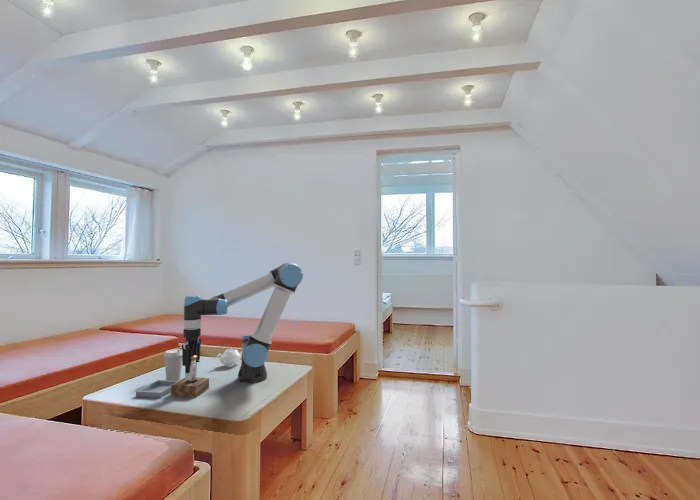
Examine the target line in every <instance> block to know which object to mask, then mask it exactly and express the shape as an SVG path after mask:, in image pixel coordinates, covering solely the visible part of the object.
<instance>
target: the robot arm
mask: <svg viewBox="0 0 700 500" xmlns="http://www.w3.org/2000/svg"><path fill="white" fill-rule="evenodd" d="M303 277H304V273H303V270H302V268H301V267H300V266H299V265H297V264H296V263H294V262H293V263H292V262H286V263H282V264H281V265H280V266H277V267H276V268H274V269H272V270H269V271H268V273H267V274H264V275H263V276H260V277H258V278H255V279H253V280H251V281H248V282H246V283H244V284H242V285H239V286H237V287H235V288H232V289H230V290H228V291H225V292H223V293H220V294H217V295H214V296H212V297H210V299H204V298H202V295H199V294H198V295H197V294H191V295H186V296H185V297H184V300H183V301H184V302H183V333H182V335H183V338H185V343H184V344H181V350H182V366H183V367H184V368H185V369H184V371H185V372H184V378H185V380H191V377H192V365H191V357H192V355H197V358H196V377H197V376H198V374H197V373H198V363H200V359H201V344H202V339H200V338H199V337H200V336H201V327H202V316H221V315H227V314H228V307H230V306H233V305H235V304H237V303H239V302H242V301H245V300H246V299H248V298H251V297H253V296H256V295H258V294H260V293H262V292H263V293H264V292H265V291H267V290H270V289H271V288H274V289H273V291H272V293H271V295H270V298H269V300H268V301H267V304H266V306H265V309H264V311H263V313H262V315H261V318H260V320H259V322H258V325H257V326H256V328H255V331H254V332H253V333H250V334H244V335H242V337H241V351H242V357H241V363H240V367H239V370H238V372H237V381H239V382H242V383H258V382H262V381H265V380H266V379H267V378H268V372H267V369H266V365H265V363H266V362H267V360H268V358H269V357H268V356H269V351H270V348H271V346H272V342H273V341H272V338H273V337H272V336H273V334H274V332H275V330H276V328H277V325H278V324H279V321H280V318H281V316H282V314H283V312H284V310H285V308H286V305H287V304H288V303H287V302H288V301H289V298H290V297H291V295H292V294H295V293H296V291H297V288H298V286H299V285H300V284H301V282H302V281H303V279H304V278H303Z"/></svg>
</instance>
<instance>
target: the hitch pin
mask: <svg viewBox="0 0 700 500" xmlns="http://www.w3.org/2000/svg"><path fill="white" fill-rule="evenodd" d="M196 358H197V355H192V357H191V365H192V377H191V380H186V383H191V384H193V383H195V380H196Z"/></svg>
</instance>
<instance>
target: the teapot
mask: <svg viewBox="0 0 700 500" xmlns="http://www.w3.org/2000/svg"><path fill="white" fill-rule="evenodd" d="M218 358H219V361H220V363H221V364H223V365H224V366H226V367H227V368H232V367H235V365H236V363H238V362H239V361H240V360H242V350H241V351H240V352H239V351H238V350H237V349H236V348H228V349H226V350H225V351H224V352H223V353H218V354H217V356H216V357H215V359H218Z"/></svg>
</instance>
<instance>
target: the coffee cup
mask: <svg viewBox="0 0 700 500" xmlns="http://www.w3.org/2000/svg"><path fill="white" fill-rule="evenodd" d="M163 357H164V367H165V369H164V370H165V380H168V381H180V380H181V374H182V366H183V365H182V348H181V349H180V348H176V349H175V348H174V349H168V350H165V352H164V354H163Z"/></svg>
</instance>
